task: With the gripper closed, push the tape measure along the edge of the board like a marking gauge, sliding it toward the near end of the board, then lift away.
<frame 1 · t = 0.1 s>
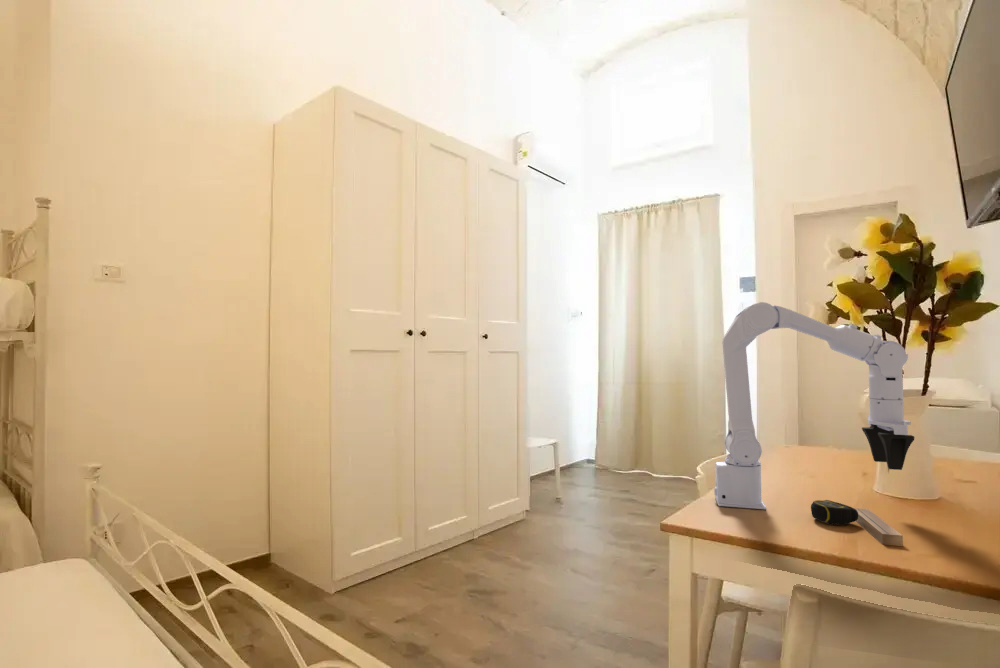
hand: (887, 465, 110), 10 cm above the table, fingers open, 7 cm apart
board: (875, 530, 100), on the table
tape measure: (832, 522, 105), on the table
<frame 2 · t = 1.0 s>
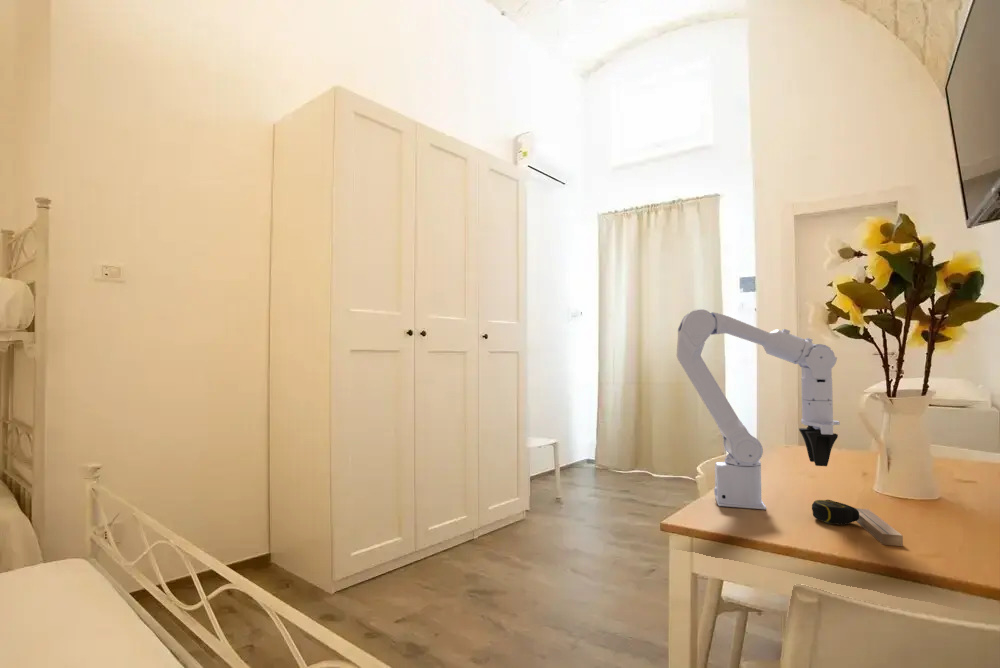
hand: (818, 463, 114), 9 cm above the table, fingers open, 4 cm apart
nothing on the table moved.
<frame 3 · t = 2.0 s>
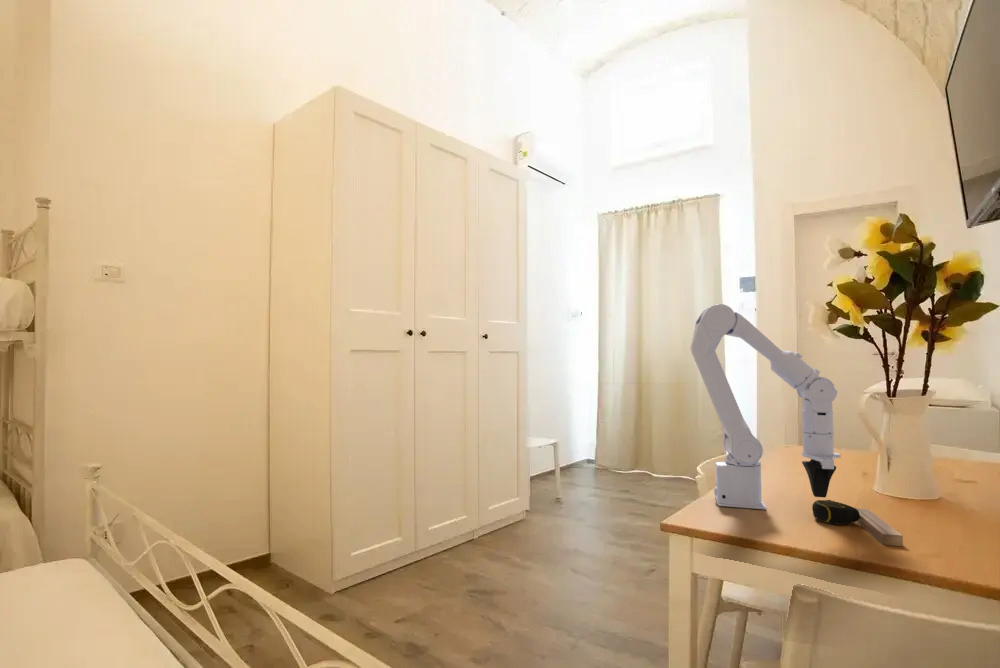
hand: (819, 496, 114), 2 cm above the table, fingers closed
tape measure: (834, 522, 106), on the table, touching board
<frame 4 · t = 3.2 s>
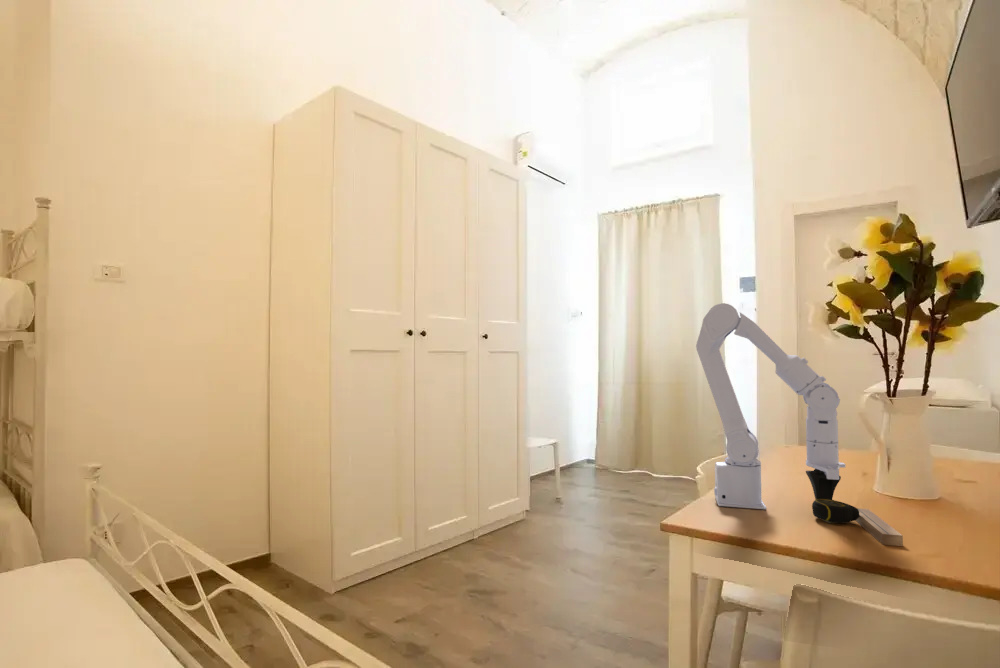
hand: (823, 507, 111), 1 cm above the table, fingers closed
tape measure: (833, 521, 106), on the table, touching gripper
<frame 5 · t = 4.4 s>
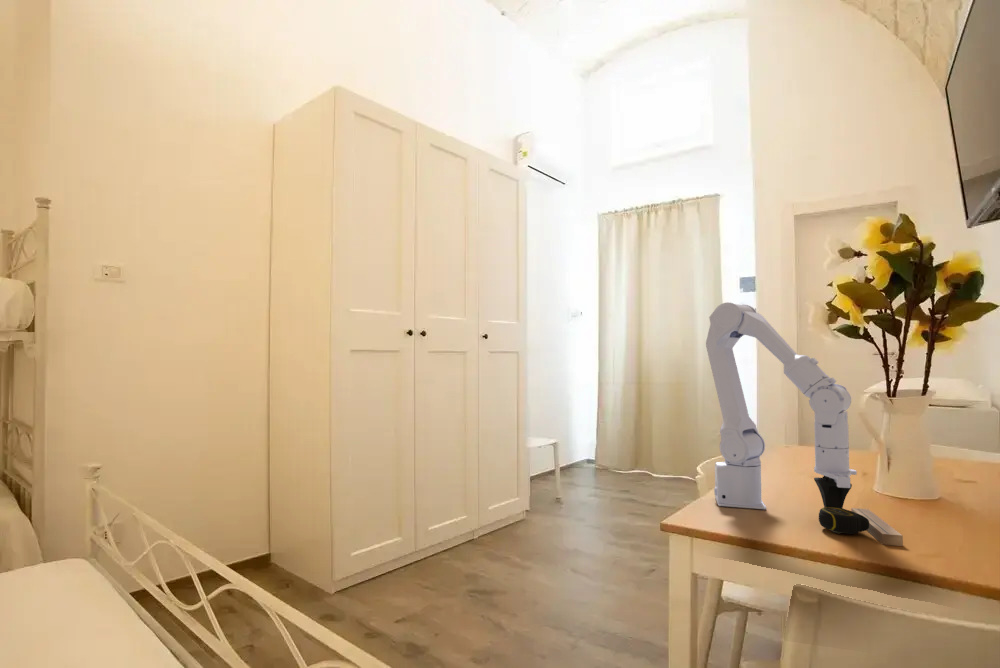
hand: (833, 516, 105), 1 cm above the table, fingers closed
tape measure: (842, 531, 100), on the table, touching gripper
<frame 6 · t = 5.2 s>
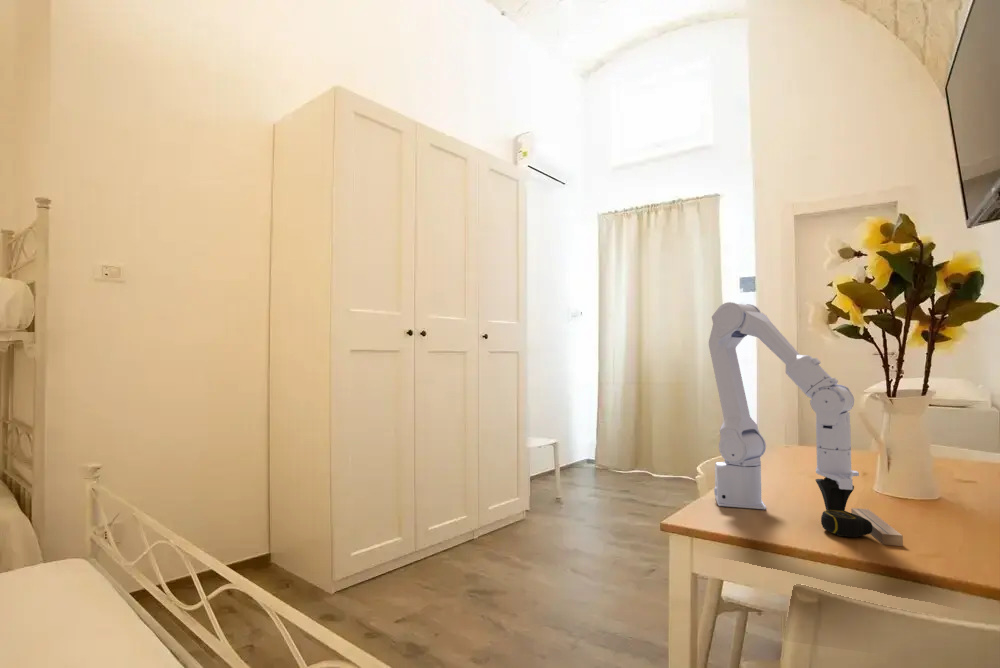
hand: (835, 518, 103), 1 cm above the table, fingers closed
tape measure: (845, 534, 99), on the table, touching gripper
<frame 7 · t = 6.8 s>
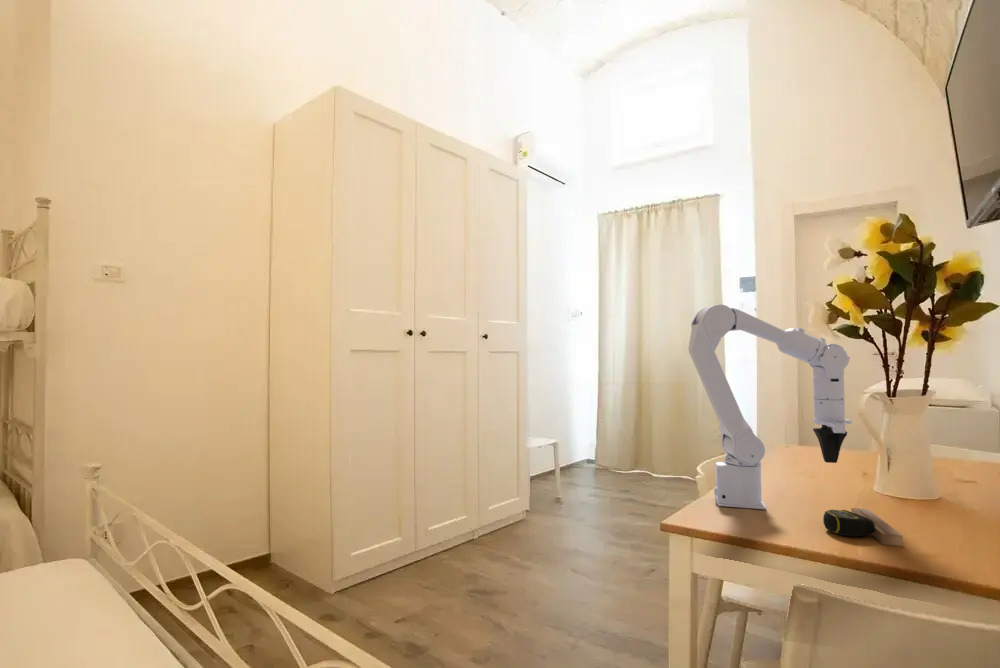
hand: (830, 462, 116), 9 cm above the table, fingers closed
tape measure: (847, 534, 99), on the table
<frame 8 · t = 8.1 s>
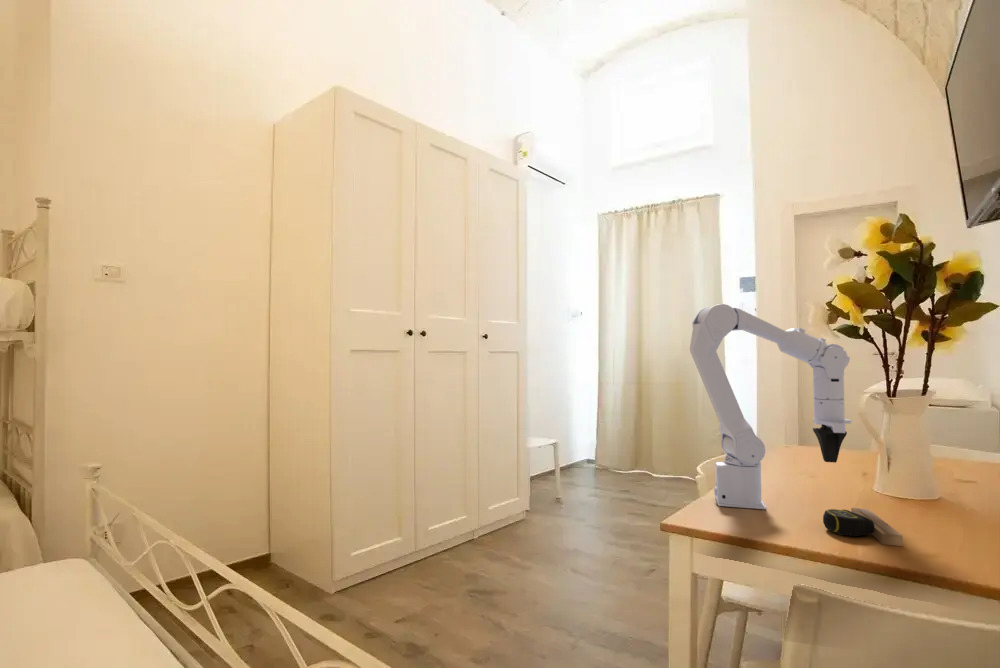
hand: (830, 461, 116), 9 cm above the table, fingers closed
nothing on the table moved.
at the end: tape measure inside the target area (1.5 cm from its centre), on the table; tape measure moved 6.3 cm from its start; tape measure touching table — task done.
